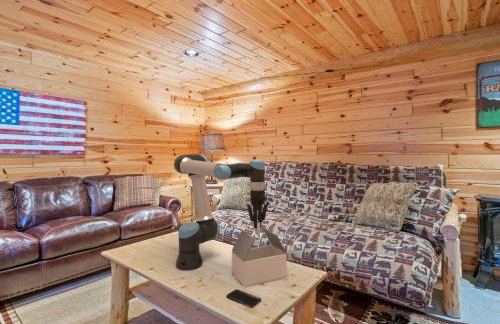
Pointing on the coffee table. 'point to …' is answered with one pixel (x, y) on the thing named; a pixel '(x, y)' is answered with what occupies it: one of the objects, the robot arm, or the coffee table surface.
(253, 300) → the phone
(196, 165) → the robot arm
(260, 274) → the carton
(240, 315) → the coffee table surface
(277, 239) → the flap
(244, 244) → the flap
